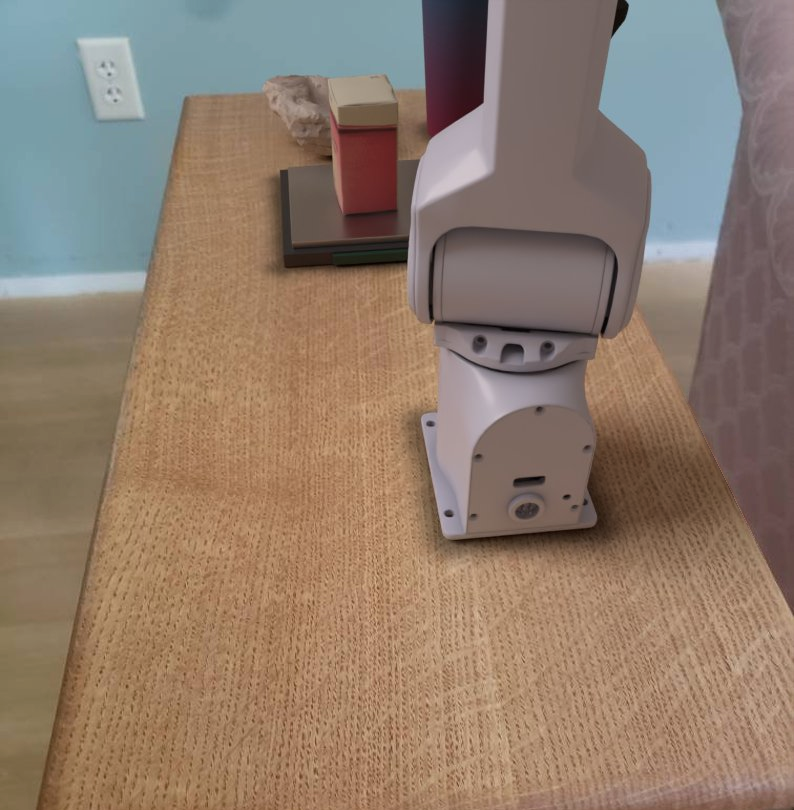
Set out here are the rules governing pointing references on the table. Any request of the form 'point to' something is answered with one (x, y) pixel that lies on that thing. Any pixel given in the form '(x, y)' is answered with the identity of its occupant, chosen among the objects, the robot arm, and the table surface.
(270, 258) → the table surface
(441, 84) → the cup
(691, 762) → the table surface
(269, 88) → the fossil
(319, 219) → the scale
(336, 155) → the small box
